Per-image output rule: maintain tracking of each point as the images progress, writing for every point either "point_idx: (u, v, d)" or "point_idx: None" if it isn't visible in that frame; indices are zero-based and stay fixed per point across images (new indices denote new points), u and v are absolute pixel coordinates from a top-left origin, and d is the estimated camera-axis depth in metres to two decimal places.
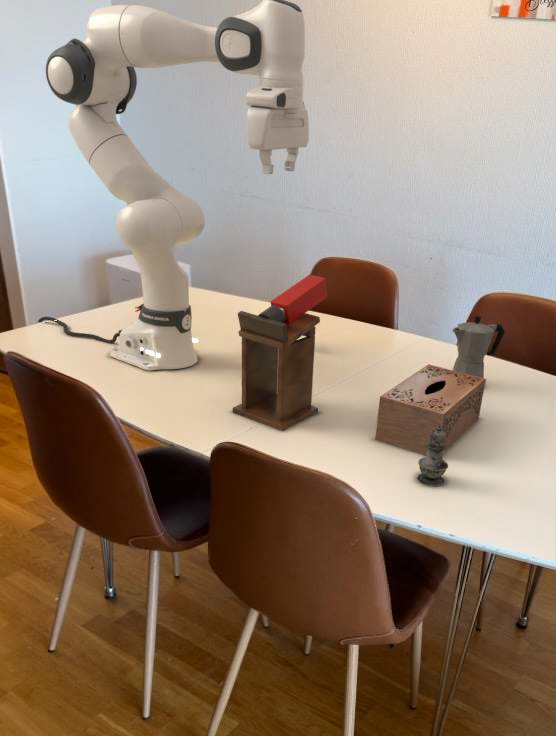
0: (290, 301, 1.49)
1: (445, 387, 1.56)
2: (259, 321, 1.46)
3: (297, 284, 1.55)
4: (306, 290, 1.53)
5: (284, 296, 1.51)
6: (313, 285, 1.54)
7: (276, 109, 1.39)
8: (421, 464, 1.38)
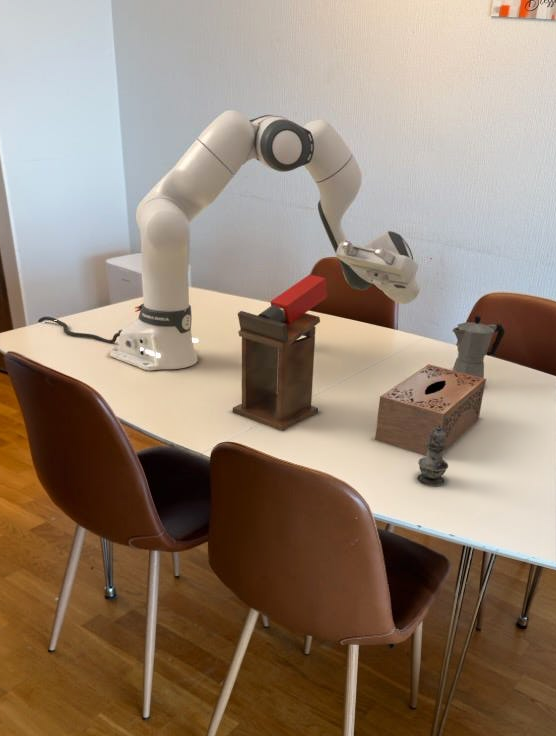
0: (290, 301, 1.49)
1: (445, 387, 1.56)
2: (259, 321, 1.46)
3: (297, 284, 1.55)
4: (306, 290, 1.53)
5: (284, 296, 1.51)
6: (313, 285, 1.54)
7: None
8: (421, 464, 1.38)
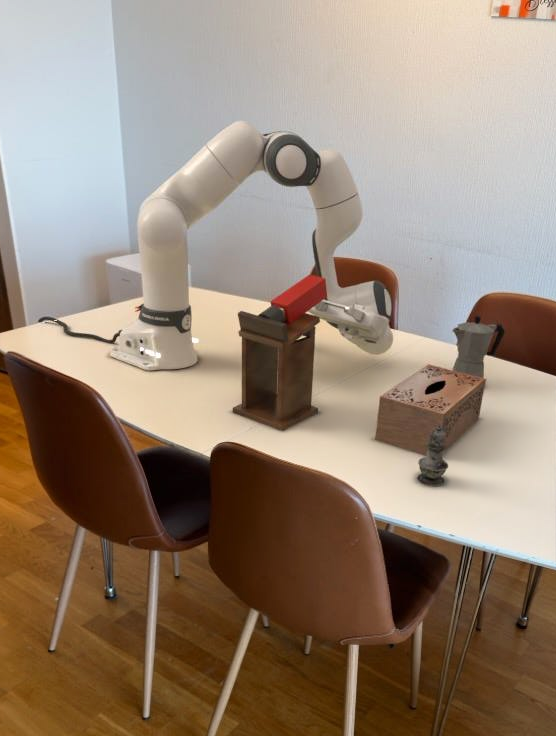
0: (290, 301, 1.49)
1: (445, 387, 1.56)
2: (259, 321, 1.46)
3: (297, 284, 1.55)
4: (306, 290, 1.53)
5: (284, 296, 1.51)
6: (313, 285, 1.54)
7: None
8: (421, 464, 1.38)
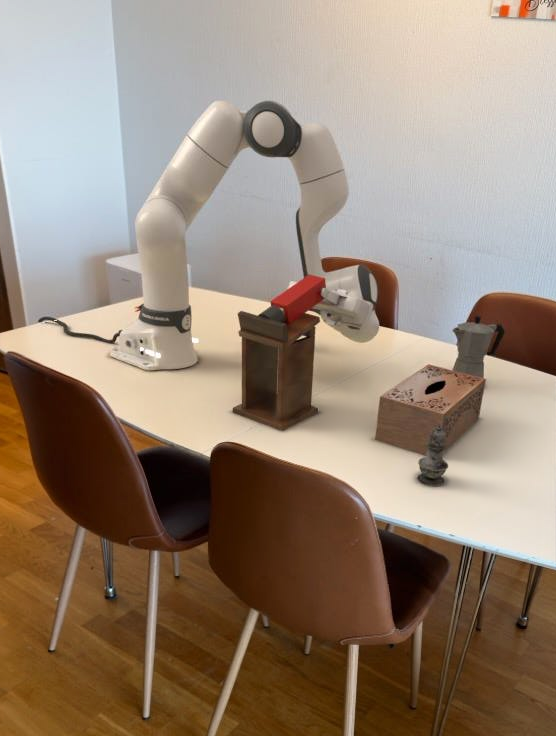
0: (290, 301, 1.49)
1: (445, 387, 1.56)
2: (259, 321, 1.46)
3: (297, 284, 1.55)
4: (306, 290, 1.53)
5: (284, 296, 1.51)
6: (313, 285, 1.54)
7: None
8: (421, 464, 1.38)
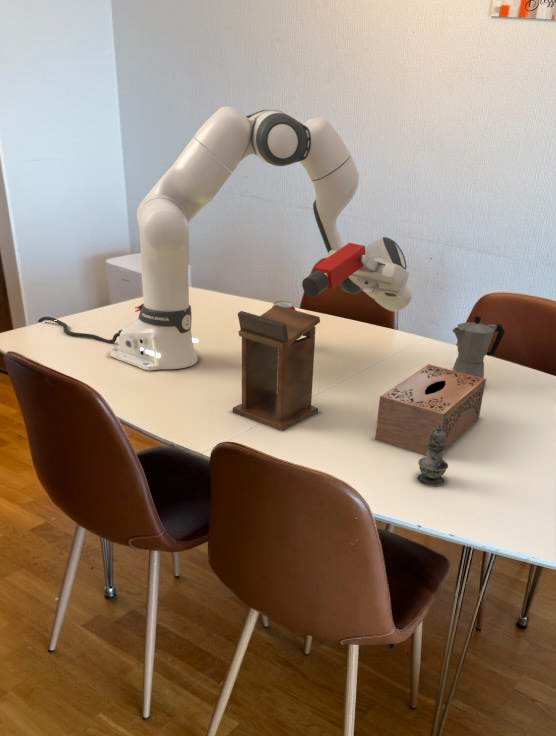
0: (333, 266, 1.58)
1: (445, 387, 1.56)
2: (259, 321, 1.46)
3: (338, 251, 1.63)
4: (347, 256, 1.61)
5: (327, 262, 1.60)
6: (354, 252, 1.63)
7: None
8: (421, 464, 1.38)
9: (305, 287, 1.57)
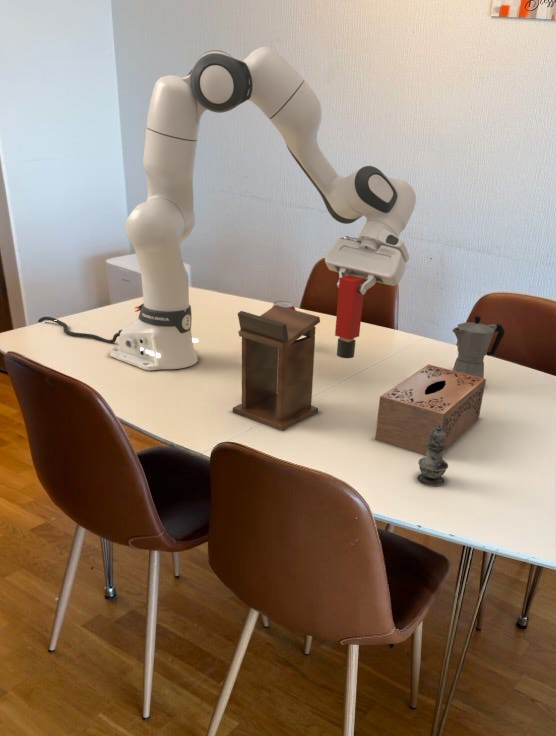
0: (348, 331, 1.73)
1: (445, 387, 1.56)
2: (259, 321, 1.46)
3: (339, 300, 1.71)
4: (351, 309, 1.70)
5: (340, 324, 1.74)
6: (352, 298, 1.69)
7: None
8: (421, 464, 1.38)
9: None
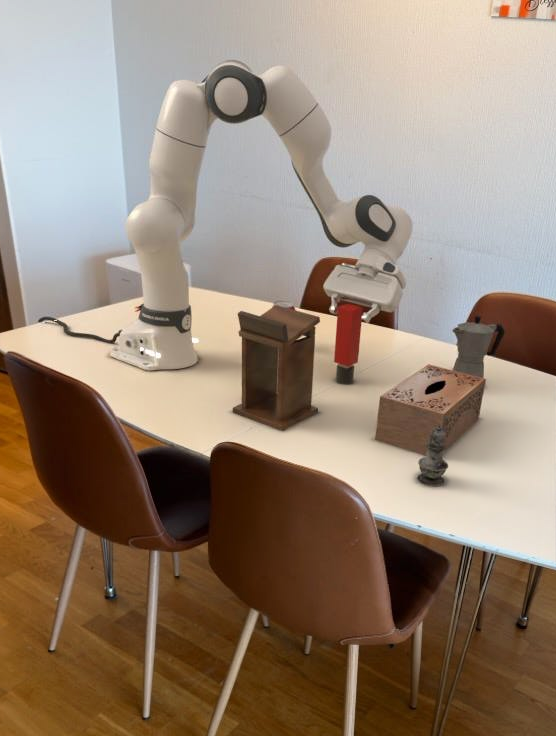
0: (347, 358, 1.77)
1: (445, 387, 1.56)
2: (259, 321, 1.46)
3: (338, 328, 1.74)
4: (349, 337, 1.74)
5: (339, 351, 1.77)
6: (350, 326, 1.72)
7: None
8: (421, 464, 1.38)
9: None
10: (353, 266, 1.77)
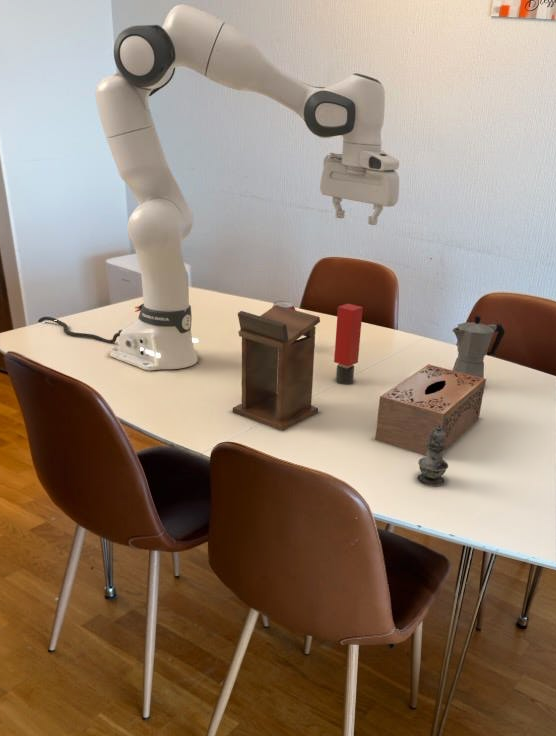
0: (347, 358, 1.77)
1: (445, 387, 1.56)
2: (259, 321, 1.46)
3: (338, 328, 1.74)
4: (349, 337, 1.74)
5: (339, 351, 1.77)
6: (350, 326, 1.72)
7: None
8: (421, 464, 1.38)
9: None
10: (340, 157, 1.66)
